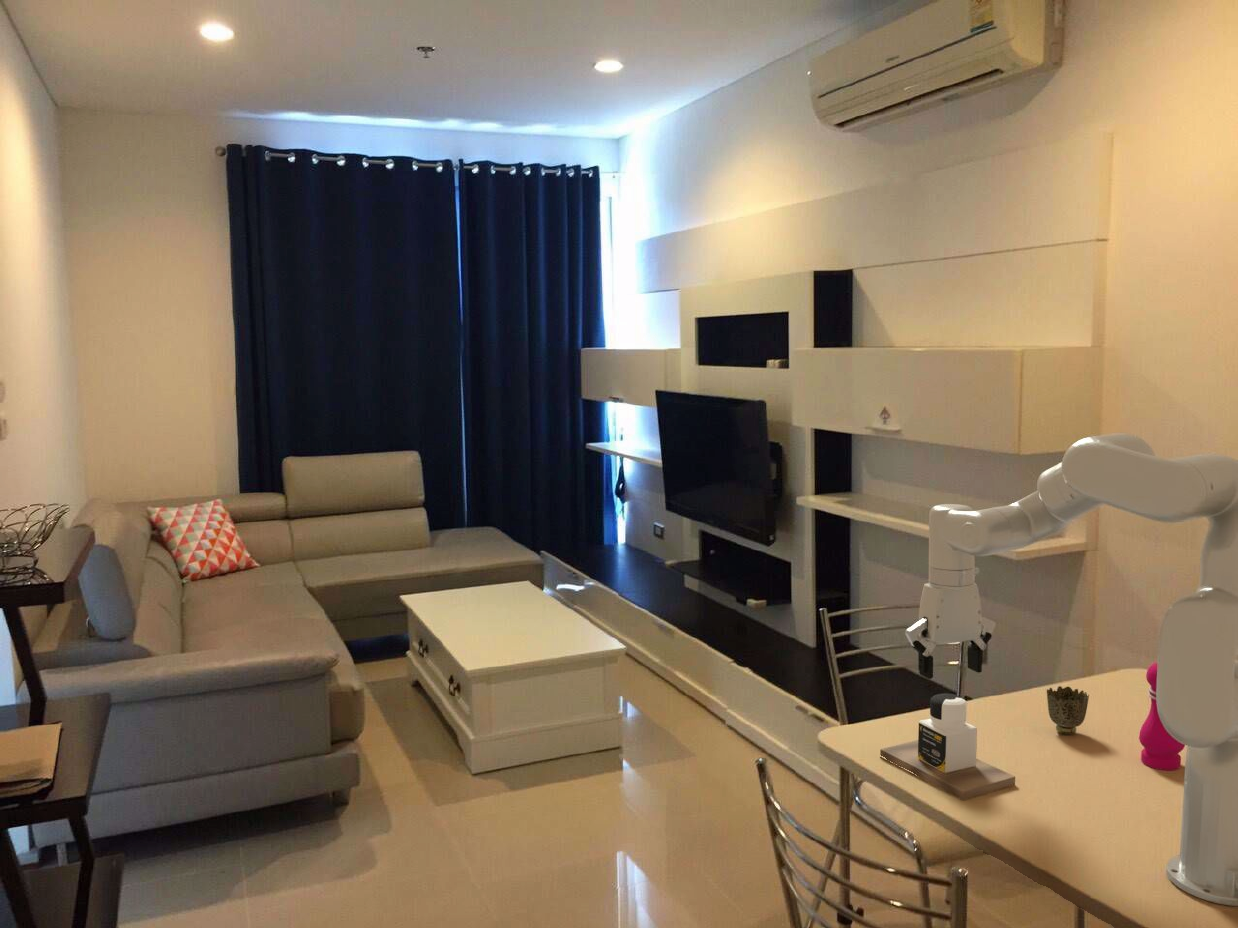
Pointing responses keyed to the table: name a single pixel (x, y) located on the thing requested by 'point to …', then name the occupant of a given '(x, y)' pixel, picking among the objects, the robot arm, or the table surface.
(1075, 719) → the cup
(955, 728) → the medicine bottle
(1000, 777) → the walnut board
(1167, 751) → the pepper mill
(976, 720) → the table surface
